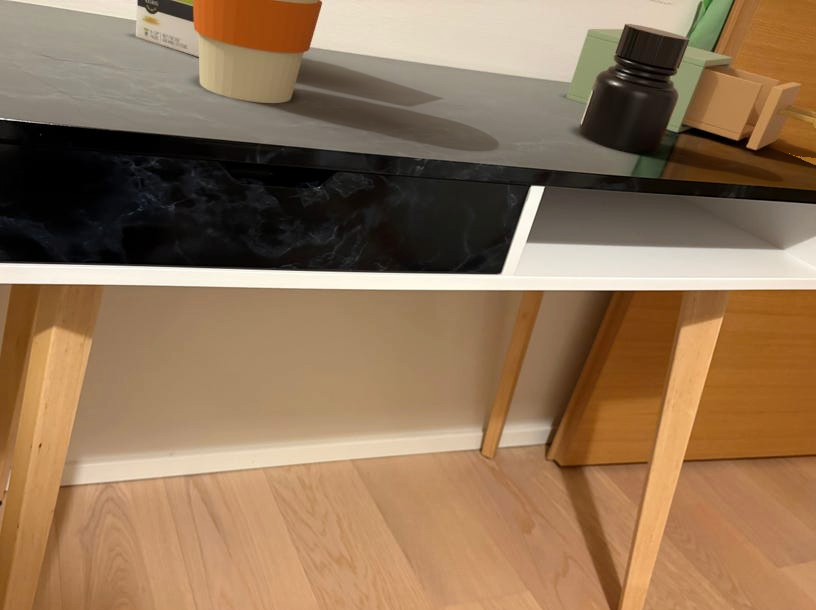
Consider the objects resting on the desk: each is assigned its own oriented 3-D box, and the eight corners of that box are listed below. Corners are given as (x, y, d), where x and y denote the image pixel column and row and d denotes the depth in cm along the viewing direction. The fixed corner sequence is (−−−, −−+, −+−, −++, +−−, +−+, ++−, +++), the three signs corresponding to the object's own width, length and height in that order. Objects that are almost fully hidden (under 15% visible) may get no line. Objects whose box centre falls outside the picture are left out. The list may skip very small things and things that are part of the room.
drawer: (822, 154, 104) (850, 97, 100) (805, 165, 95) (836, 103, 91) (671, 108, 113) (692, 54, 110) (642, 115, 104) (664, 56, 101)
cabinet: (705, 125, 112) (733, 57, 107) (676, 134, 102) (706, 60, 97) (601, 93, 119) (624, 29, 114) (565, 99, 109) (588, 28, 104)
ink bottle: (625, 135, 95) (665, 28, 89) (675, 160, 88) (721, 46, 82) (558, 128, 92) (595, 16, 86) (605, 153, 85) (648, 34, 79)
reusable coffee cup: (312, 90, 85) (338, -68, 77) (304, 119, 74) (333, -62, 66) (193, 67, 84) (208, -95, 76) (168, 93, 73) (182, -93, 66)
